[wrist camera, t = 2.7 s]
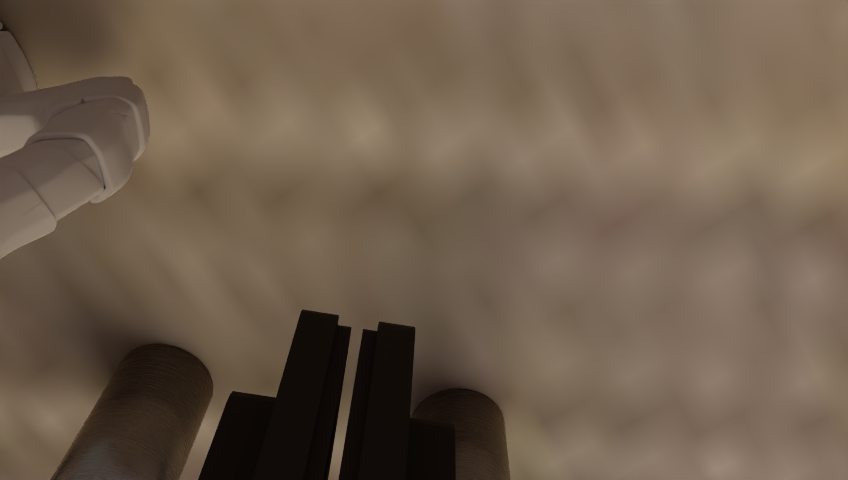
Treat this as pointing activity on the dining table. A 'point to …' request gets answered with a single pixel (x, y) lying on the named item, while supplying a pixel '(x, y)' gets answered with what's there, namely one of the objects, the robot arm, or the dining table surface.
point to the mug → (61, 145)
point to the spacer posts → (187, 404)
